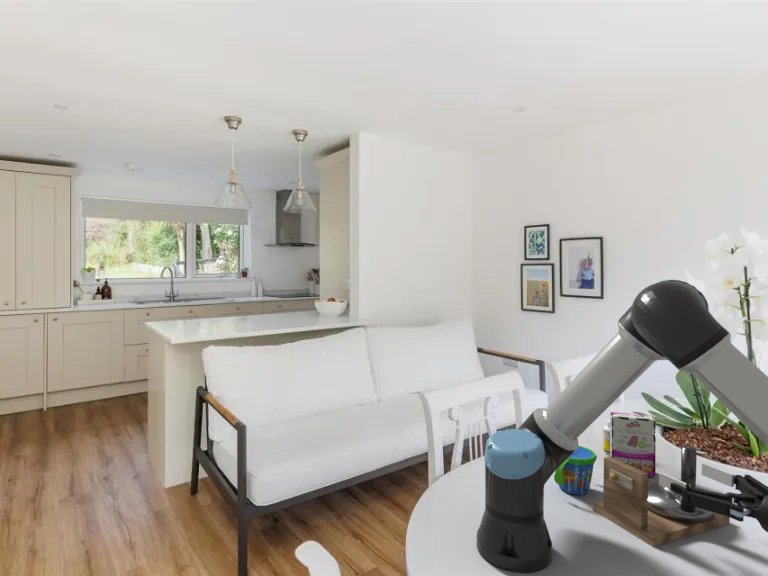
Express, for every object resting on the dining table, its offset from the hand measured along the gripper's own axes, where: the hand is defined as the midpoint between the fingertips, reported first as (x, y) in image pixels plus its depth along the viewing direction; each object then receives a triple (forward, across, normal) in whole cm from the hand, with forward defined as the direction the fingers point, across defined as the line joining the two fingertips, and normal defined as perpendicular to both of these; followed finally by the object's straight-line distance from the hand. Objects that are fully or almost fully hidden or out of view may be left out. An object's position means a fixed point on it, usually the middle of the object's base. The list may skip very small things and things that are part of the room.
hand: (681, 473), depth 104 cm
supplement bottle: (+36, +19, -12) cm, 43 cm away
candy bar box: (+24, +13, -12) cm, 30 cm away
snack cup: (+22, -10, -12) cm, 27 cm away
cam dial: (+4, +3, -10) cm, 11 cm away
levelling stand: (+4, -1, -12) cm, 13 cm away
